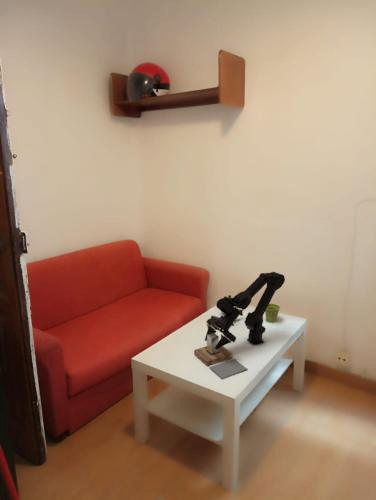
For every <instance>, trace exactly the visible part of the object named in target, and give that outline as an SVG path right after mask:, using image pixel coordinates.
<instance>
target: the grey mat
mask: <svg viewBox="0 0 376 500" xmlns="http://www.w3.org/2000/svg"><path fill="white" fill-rule="evenodd" d="M208 367H209V369H210V370H211V371H212V372H213V373H214V374H215V375H216V376H217V377H218V378H220V380H224V379H226V378H229V377H232V376H235V375H238V374H240V373H243V372H246V371H248V368H247V367H245V366H244V365H243V363H241V362H239V361H238V360H237V359H235V358H233V359H232V358H231V359H228V360H225V361H224V362H223V361H222V362H219V363H218V364H217V363H216V364H215V365H214V364H213V365H210V366H208Z"/></svg>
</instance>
